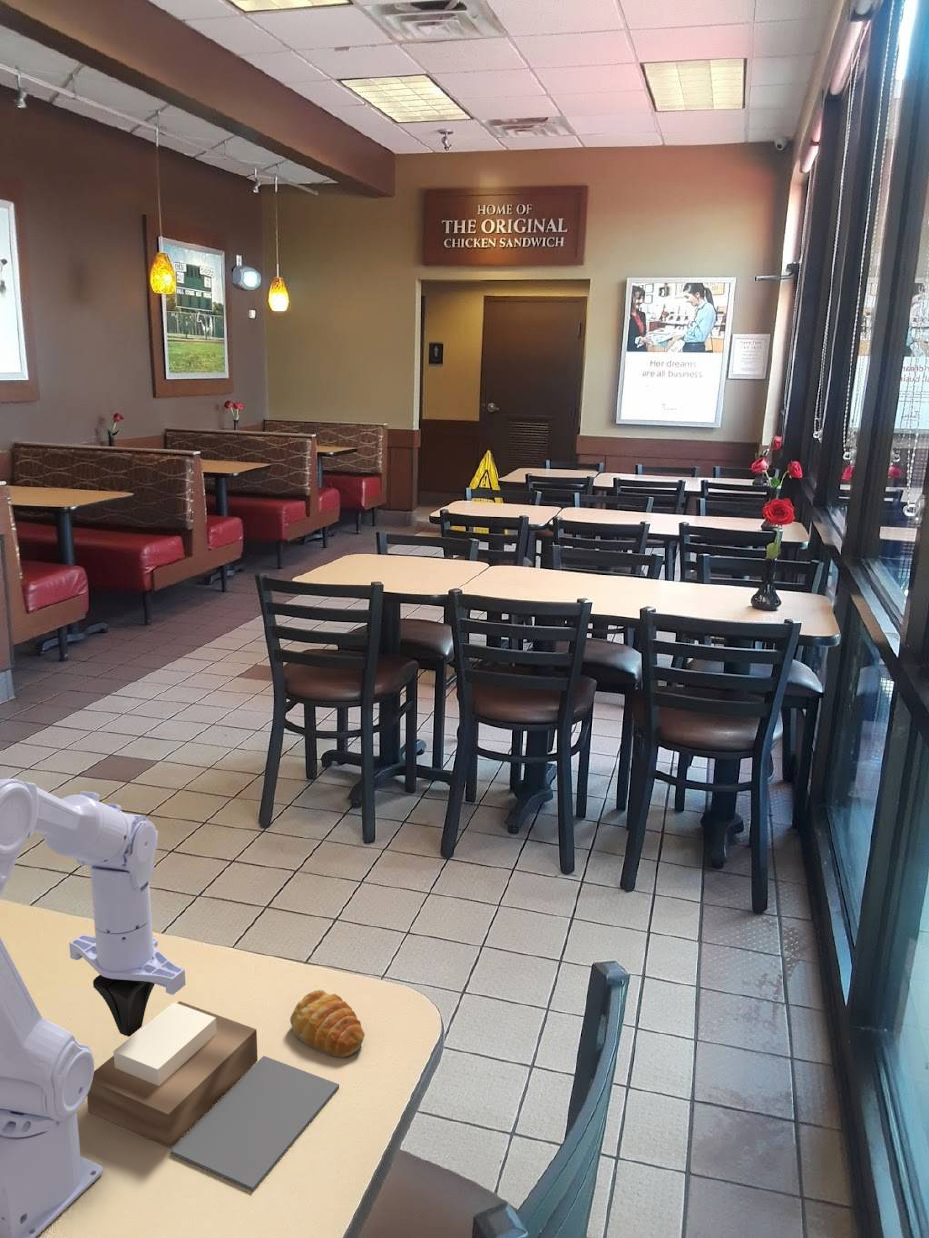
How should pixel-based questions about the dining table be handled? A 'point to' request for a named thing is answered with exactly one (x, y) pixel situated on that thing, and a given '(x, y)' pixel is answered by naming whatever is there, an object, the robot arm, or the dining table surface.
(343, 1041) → the pastry
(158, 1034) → the block
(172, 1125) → the brown wooden block
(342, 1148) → the dining table surface
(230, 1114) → the mat
